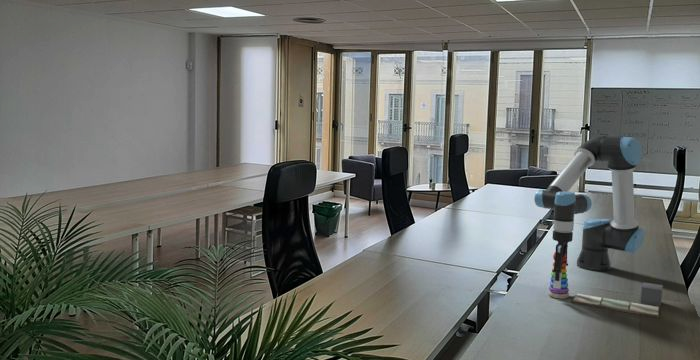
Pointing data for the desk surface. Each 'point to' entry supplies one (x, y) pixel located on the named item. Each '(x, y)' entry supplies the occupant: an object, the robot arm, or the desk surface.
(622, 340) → the desk surface
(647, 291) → the grey plain cubic block
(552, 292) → the stacking toy
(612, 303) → the board
